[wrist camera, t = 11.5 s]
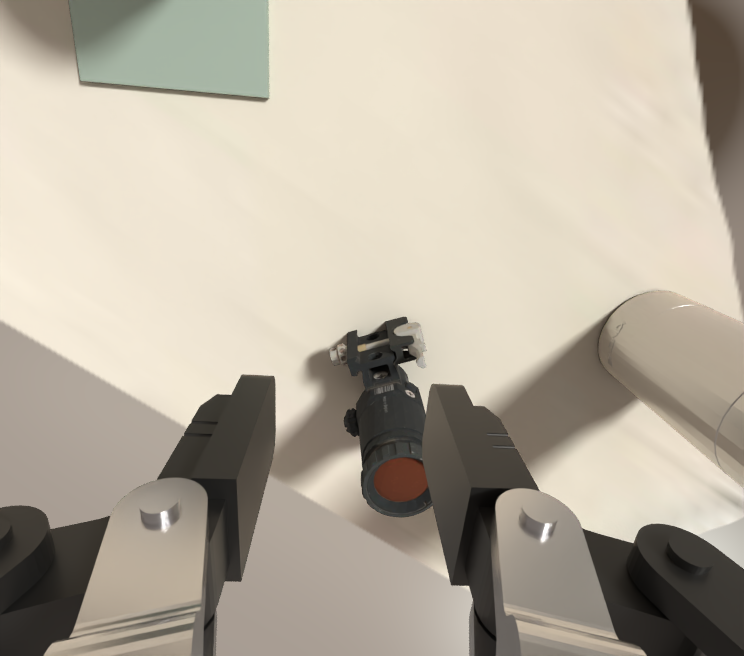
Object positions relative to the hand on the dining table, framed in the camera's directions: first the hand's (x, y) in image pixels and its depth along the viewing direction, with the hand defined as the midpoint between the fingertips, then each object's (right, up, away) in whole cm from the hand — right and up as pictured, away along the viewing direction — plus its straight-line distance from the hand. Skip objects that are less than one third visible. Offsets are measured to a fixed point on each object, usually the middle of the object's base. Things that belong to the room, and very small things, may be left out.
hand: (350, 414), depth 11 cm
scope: (+2, -2, +31) cm, 31 cm away
